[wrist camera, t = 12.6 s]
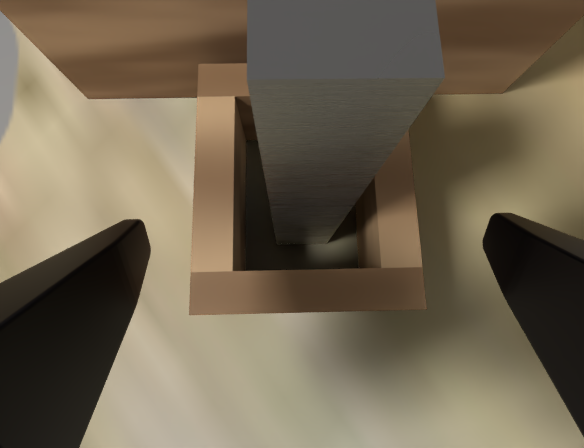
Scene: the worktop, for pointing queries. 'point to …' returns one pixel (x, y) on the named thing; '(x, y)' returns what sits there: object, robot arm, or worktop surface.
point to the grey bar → (334, 99)
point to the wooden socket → (240, 127)
